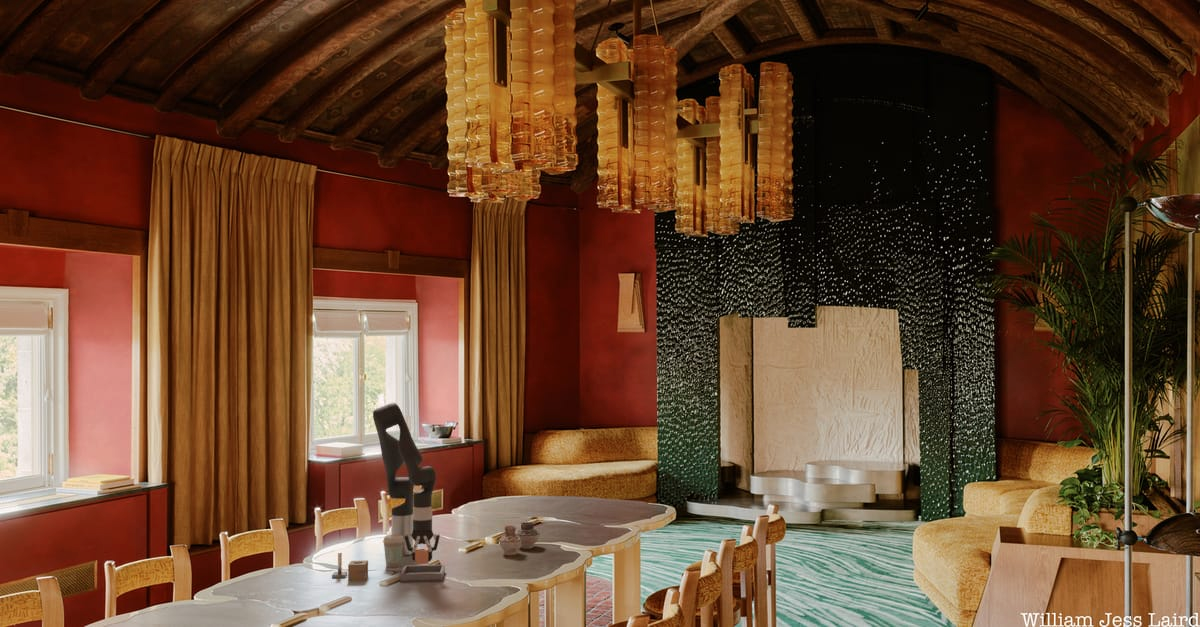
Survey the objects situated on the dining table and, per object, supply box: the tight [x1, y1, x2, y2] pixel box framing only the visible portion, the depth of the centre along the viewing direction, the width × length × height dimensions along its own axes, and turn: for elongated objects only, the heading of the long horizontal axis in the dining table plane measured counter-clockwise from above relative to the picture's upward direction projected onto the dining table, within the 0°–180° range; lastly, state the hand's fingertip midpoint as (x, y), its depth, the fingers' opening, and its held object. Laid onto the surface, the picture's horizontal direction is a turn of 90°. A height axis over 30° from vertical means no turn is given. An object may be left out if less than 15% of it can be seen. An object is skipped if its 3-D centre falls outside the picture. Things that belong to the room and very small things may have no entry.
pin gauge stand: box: [331, 552, 348, 579], centre depth 363 cm, size 5×5×9 cm
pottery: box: [498, 521, 540, 556], centre depth 406 cm, size 11×25×12 cm, turn 155°
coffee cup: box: [382, 534, 404, 568], centre depth 380 cm, size 8×9×12 cm
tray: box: [399, 564, 446, 583], centre depth 361 cm, size 14×16×3 cm
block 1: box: [347, 560, 369, 582], centre depth 359 cm, size 6×6×7 cm
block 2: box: [414, 547, 429, 565], centre depth 361 cm, size 5×5×5 cm
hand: (422, 561), depth 361 cm, fingers closed on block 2, 5 cm apart
